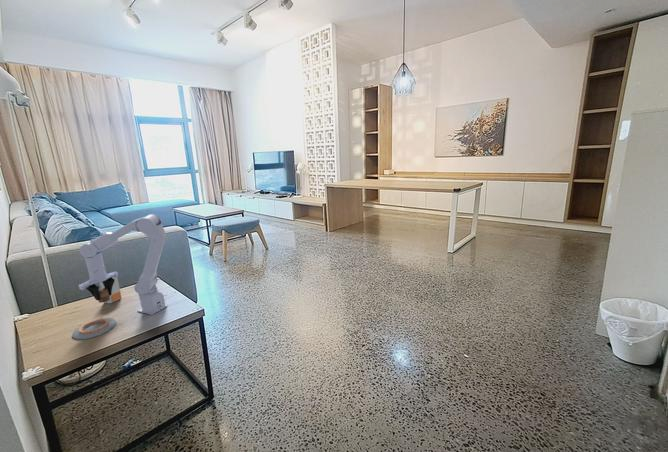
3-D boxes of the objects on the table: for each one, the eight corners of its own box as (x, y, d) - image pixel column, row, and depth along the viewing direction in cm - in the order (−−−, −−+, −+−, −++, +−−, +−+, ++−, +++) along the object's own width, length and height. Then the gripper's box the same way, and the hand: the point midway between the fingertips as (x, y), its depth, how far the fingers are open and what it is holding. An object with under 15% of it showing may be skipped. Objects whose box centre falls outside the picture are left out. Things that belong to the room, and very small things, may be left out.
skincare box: (111, 303, 138) (105, 280, 135) (103, 303, 139) (98, 280, 136) (122, 297, 144) (117, 275, 141) (115, 297, 145) (110, 275, 142)
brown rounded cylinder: (112, 298, 128) (109, 288, 127) (102, 303, 125) (100, 292, 124) (106, 297, 130) (103, 287, 128) (96, 301, 126) (93, 291, 125)
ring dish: (124, 322, 122) (123, 318, 122) (87, 342, 110) (86, 338, 109) (102, 316, 127) (101, 313, 127) (64, 335, 114) (63, 331, 114)
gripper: (108, 261, 131) (114, 288, 135) (70, 274, 118) (79, 303, 122) (118, 263, 129) (124, 291, 132) (81, 276, 116) (89, 306, 119)
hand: (103, 297), depth 127 cm, fingers closed on brown rounded cylinder, 4 cm apart
